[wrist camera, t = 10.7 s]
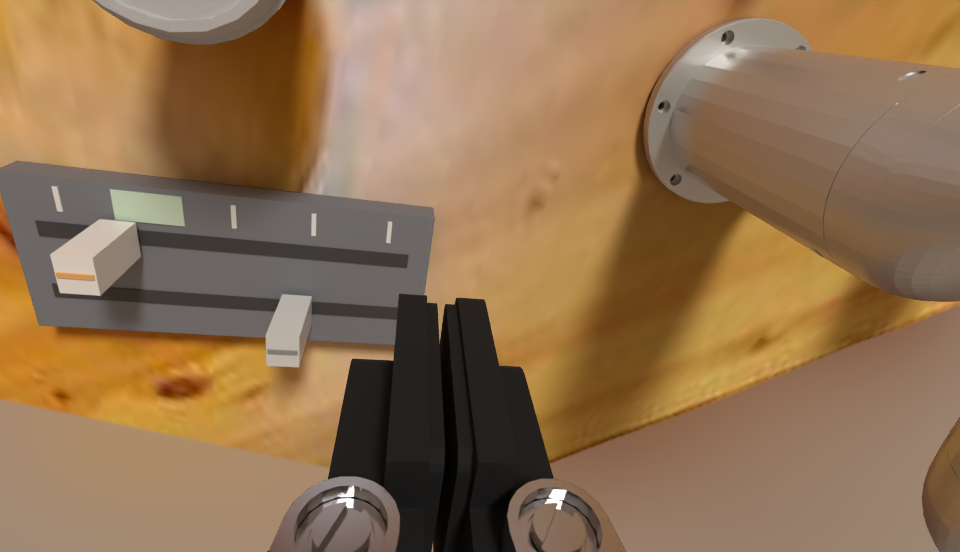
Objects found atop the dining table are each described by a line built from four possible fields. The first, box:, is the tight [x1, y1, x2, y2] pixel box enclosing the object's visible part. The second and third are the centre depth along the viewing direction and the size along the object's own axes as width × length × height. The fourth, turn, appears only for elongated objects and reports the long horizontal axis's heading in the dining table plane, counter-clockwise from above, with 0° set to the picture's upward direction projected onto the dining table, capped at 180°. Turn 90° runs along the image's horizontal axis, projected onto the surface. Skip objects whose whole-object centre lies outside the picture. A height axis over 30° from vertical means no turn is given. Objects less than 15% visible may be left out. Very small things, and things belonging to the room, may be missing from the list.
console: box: [0, 161, 435, 345], centre depth 35 cm, size 26×11×2 cm, turn 80°
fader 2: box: [266, 294, 312, 367], centre depth 33 cm, size 2×2×5 cm
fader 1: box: [50, 219, 141, 296], centre depth 29 cm, size 2×2×5 cm
